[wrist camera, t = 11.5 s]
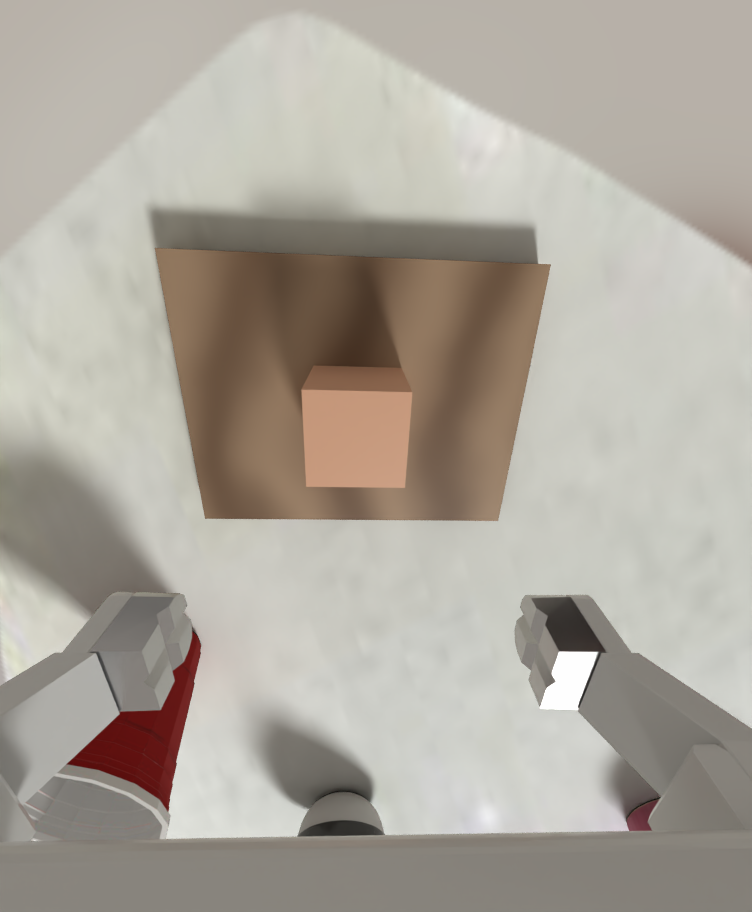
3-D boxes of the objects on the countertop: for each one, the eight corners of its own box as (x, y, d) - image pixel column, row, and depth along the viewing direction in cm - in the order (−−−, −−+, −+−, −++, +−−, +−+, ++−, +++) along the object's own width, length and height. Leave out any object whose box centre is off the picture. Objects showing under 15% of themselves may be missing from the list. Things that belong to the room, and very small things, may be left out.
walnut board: (538, 265, 21) (550, 264, 20) (491, 508, 28) (497, 520, 27) (168, 249, 20) (155, 248, 19) (212, 506, 27) (205, 518, 26)
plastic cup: (70, 637, 32) (-78, 823, 21) (156, 575, 30) (38, 749, 19) (172, 700, 36) (92, 883, 25) (256, 650, 34) (207, 829, 23)
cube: (401, 367, 22) (412, 392, 17) (396, 447, 24) (405, 487, 20) (313, 365, 22) (301, 389, 17) (316, 446, 24) (306, 486, 19)
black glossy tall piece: (375, 772, 43) (382, 1009, 29) (392, 817, 47) (406, 1040, 33) (286, 786, 43) (252, 1025, 29) (312, 829, 48) (292, 1054, 34)
